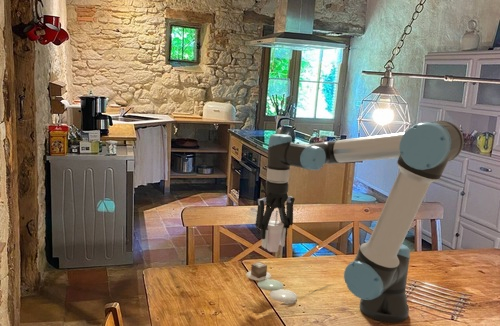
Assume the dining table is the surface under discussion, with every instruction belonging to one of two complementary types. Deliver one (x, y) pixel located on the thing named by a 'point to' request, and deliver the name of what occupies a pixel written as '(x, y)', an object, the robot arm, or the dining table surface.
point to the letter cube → (258, 269)
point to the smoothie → (274, 234)
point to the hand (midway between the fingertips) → (272, 246)
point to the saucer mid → (270, 284)
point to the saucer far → (258, 278)
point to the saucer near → (284, 296)
